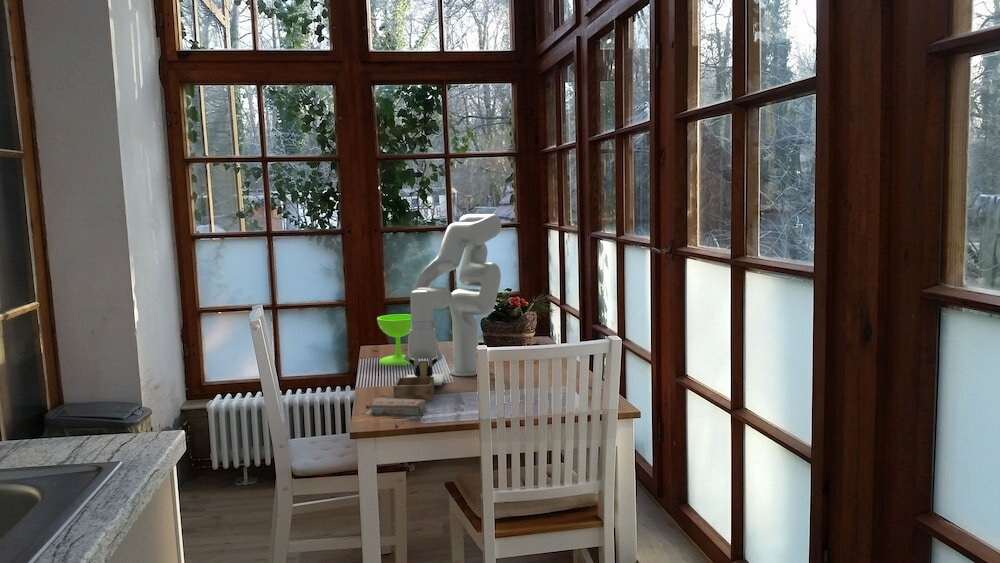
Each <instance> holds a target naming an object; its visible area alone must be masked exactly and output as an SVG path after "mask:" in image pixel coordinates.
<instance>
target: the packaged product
mask: <svg viewBox="0 0 1000 563" xmlns="http://www.w3.org/2000/svg"><path fill="white" fill-rule="evenodd" d="M426 403H427V402H426V401H425V400H421V399H394V397H392V398H389V397H387V398H386V397H373V399H372V401H371V402H370V405H369V409H368V410H367V411H366V412H365V415H368V416H370V414H371V415H380V416H382V415H383V416H385V415H387V416H389V415H390V416H400V417H393V418H392V417H391V418H390V419H392V420H394V419H395V420H396V419H397V420H398V419H399V420H421V418H422V417H424V414H425V412H426V411H428V409H429V407H428V406H426Z"/></svg>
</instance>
